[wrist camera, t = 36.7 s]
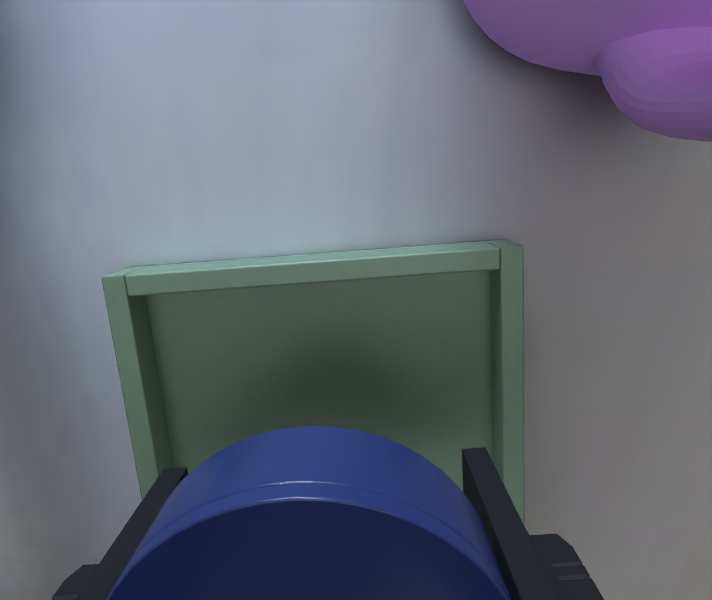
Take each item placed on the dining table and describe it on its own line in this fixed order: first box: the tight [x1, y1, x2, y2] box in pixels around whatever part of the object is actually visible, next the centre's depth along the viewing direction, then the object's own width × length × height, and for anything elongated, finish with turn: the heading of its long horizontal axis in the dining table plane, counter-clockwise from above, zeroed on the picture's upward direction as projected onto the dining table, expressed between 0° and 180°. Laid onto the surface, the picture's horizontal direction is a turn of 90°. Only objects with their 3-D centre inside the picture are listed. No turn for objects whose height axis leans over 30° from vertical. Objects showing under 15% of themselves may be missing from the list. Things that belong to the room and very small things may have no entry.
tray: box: [102, 240, 524, 524], centre depth 20 cm, size 15×15×2 cm
